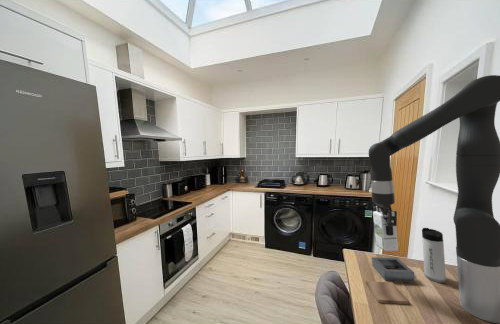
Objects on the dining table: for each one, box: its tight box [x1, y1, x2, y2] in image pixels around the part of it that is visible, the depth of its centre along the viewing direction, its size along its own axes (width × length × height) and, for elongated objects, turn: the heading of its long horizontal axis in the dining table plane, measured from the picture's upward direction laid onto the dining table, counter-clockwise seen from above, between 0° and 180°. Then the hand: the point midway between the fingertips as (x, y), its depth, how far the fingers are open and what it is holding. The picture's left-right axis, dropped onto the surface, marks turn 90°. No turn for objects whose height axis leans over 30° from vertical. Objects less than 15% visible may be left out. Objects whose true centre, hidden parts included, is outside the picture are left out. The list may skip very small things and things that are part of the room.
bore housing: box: [371, 256, 416, 283], centre depth 80 cm, size 11×11×4 cm
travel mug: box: [421, 227, 447, 283], centre depth 76 cm, size 6×7×20 cm
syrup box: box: [372, 211, 399, 252], centre depth 74 cm, size 6×6×14 cm
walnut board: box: [365, 280, 411, 305], centre depth 69 cm, size 10×10×1 cm
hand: (385, 231), depth 74 cm, fingers closed on syrup box, 6 cm apart
